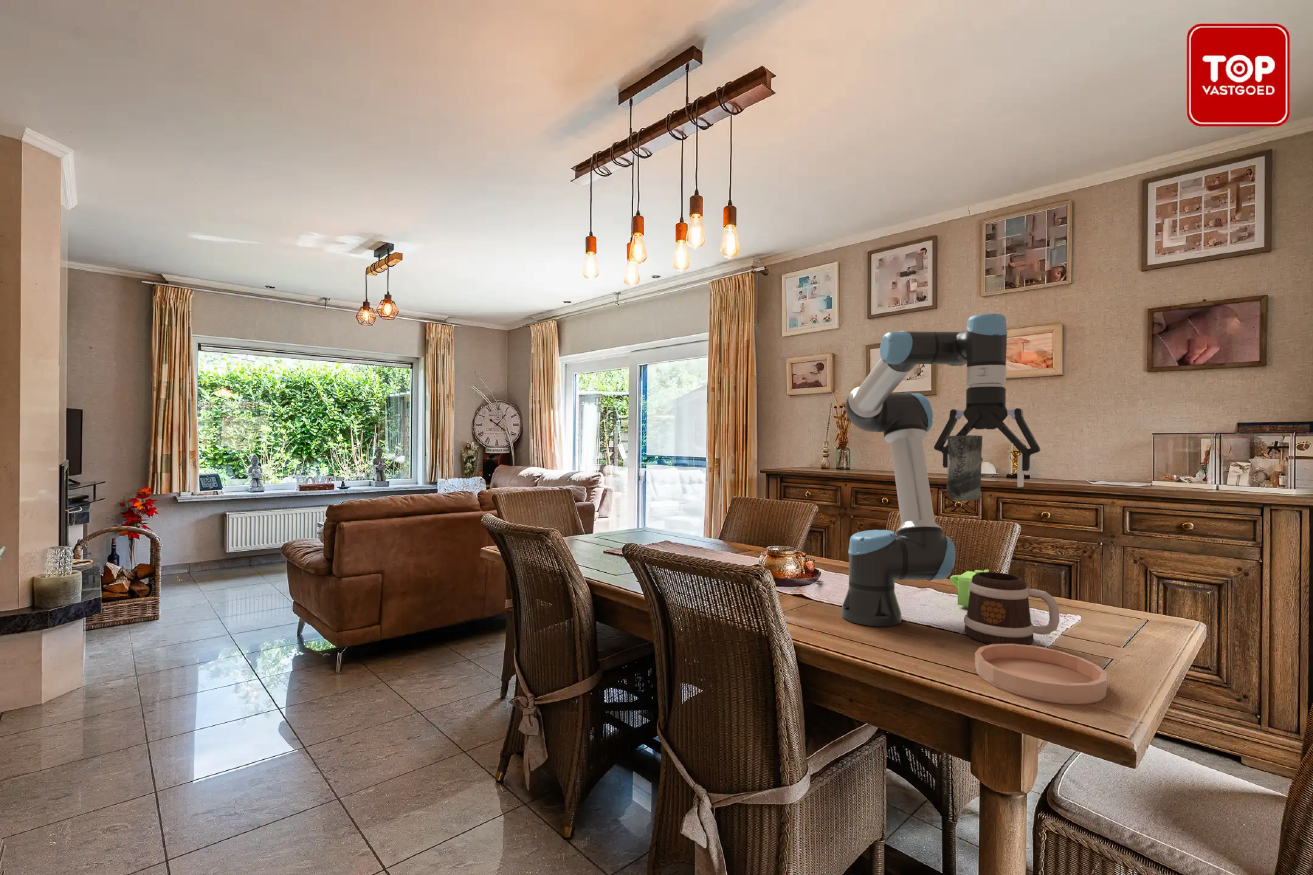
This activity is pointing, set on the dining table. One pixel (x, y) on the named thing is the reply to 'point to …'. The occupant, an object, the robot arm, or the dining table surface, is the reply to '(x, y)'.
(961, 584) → the teapot
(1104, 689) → the dish
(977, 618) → the mug
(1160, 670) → the dining table surface
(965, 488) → the stone block
